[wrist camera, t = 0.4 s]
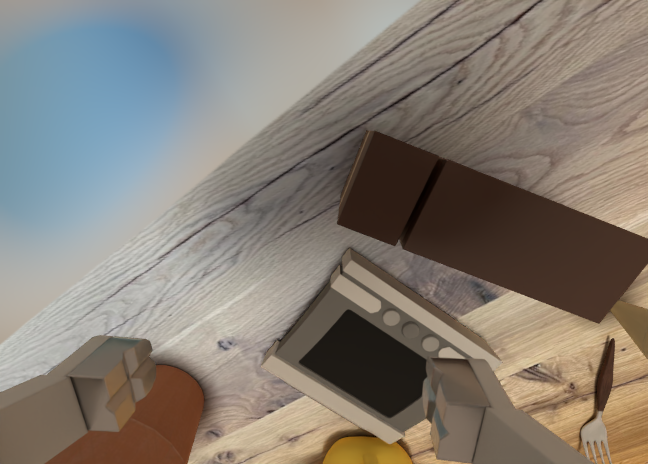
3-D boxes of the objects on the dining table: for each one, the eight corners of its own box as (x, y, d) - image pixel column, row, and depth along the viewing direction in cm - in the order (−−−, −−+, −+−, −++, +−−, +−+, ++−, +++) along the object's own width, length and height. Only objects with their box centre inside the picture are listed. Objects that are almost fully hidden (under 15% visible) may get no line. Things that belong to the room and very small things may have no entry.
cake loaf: (386, 212, 28) (402, 249, 20) (415, 149, 26) (447, 159, 18) (525, 266, 29) (599, 324, 20) (563, 208, 27) (663, 244, 18)
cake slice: (340, 195, 28) (336, 224, 19) (366, 130, 26) (374, 130, 18) (381, 211, 28) (395, 246, 20) (410, 147, 26) (439, 156, 18)
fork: (623, 334, 30) (642, 347, 28) (601, 452, 35) (615, 471, 33) (594, 335, 30) (610, 349, 29) (576, 453, 35) (589, 471, 33)
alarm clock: (502, 362, 28) (392, 471, 32) (479, 333, 33) (384, 432, 36) (351, 259, 26) (251, 388, 30) (348, 243, 31) (262, 357, 34)
